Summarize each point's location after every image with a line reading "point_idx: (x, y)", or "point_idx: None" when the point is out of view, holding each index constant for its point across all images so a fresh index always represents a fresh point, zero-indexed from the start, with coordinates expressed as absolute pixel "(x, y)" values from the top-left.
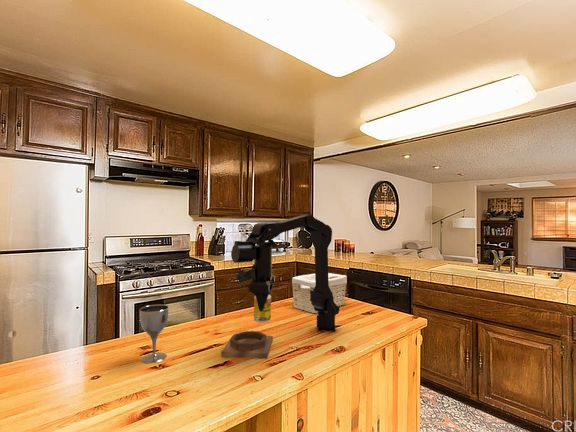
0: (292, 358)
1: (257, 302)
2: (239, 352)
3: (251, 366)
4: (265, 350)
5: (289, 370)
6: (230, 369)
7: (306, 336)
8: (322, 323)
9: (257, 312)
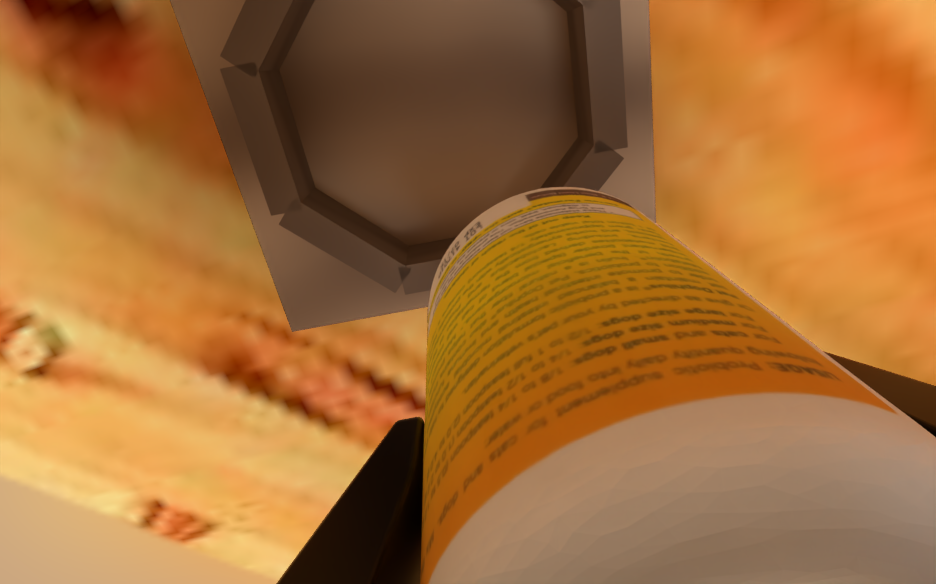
0: (366, 454)
1: (285, 572)
2: (211, 101)
3: (139, 255)
4: (340, 304)
5: (209, 475)
6: (8, 118)
7: None
8: None
9: (432, 347)
